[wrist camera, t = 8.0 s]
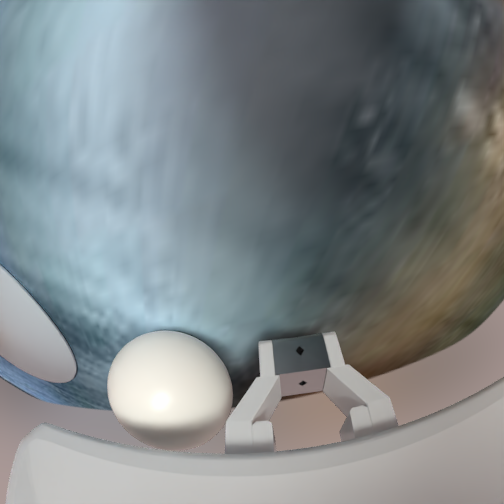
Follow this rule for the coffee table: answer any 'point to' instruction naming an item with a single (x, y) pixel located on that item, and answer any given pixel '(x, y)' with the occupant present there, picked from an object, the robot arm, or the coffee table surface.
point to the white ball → (170, 390)
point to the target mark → (31, 335)
